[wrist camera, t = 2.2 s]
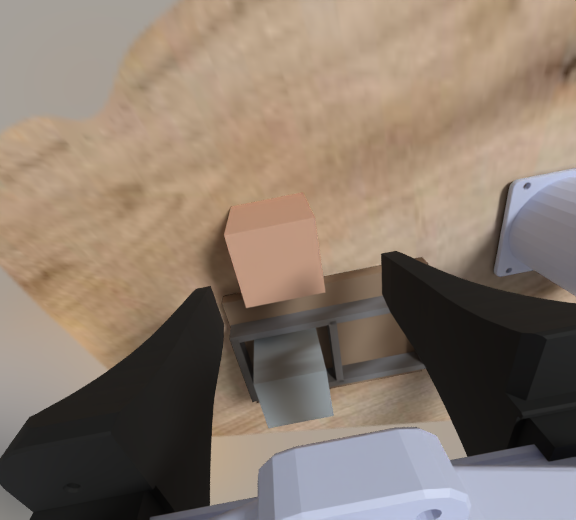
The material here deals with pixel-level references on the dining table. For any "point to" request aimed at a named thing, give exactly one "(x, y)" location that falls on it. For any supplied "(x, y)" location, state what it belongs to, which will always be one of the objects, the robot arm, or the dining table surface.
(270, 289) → the terracotta block
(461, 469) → the robot arm
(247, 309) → the puzzle board
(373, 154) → the dining table surface
